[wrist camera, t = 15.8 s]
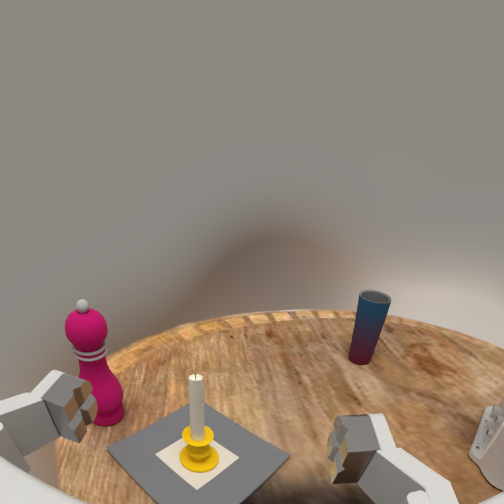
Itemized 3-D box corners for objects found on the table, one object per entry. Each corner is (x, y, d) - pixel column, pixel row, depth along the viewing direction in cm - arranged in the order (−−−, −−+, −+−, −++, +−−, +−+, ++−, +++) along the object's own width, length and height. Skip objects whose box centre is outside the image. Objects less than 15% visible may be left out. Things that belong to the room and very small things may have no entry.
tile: (198, 401, 46) (198, 397, 45) (289, 457, 35) (290, 454, 35) (107, 450, 32) (106, 446, 31) (198, 538, 21) (198, 536, 21)
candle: (176, 446, 34) (167, 360, 30) (213, 442, 36) (214, 356, 32) (183, 475, 30) (173, 391, 26) (223, 469, 31) (227, 386, 27)
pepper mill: (135, 410, 41) (119, 297, 36) (108, 435, 34) (78, 318, 29) (103, 392, 43) (84, 285, 38) (76, 414, 37) (45, 301, 31)
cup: (340, 360, 60) (355, 296, 56) (350, 347, 65) (364, 287, 62) (369, 370, 56) (388, 306, 52) (377, 356, 62) (394, 295, 58)
